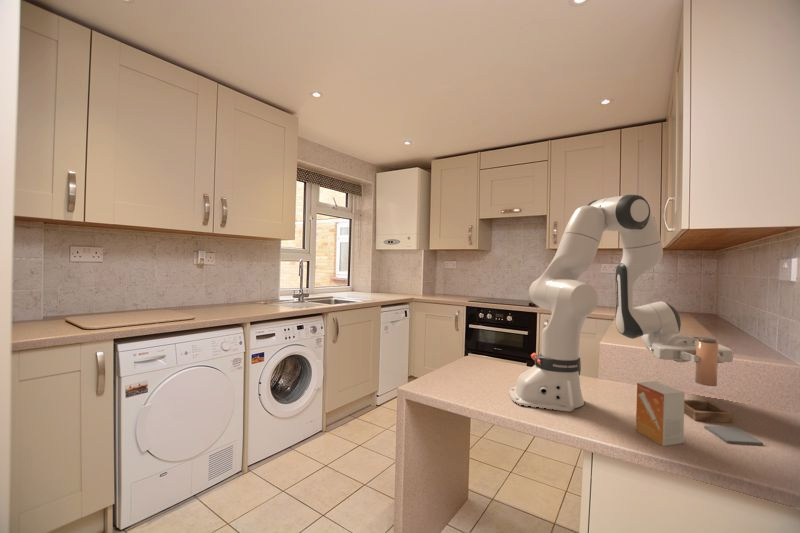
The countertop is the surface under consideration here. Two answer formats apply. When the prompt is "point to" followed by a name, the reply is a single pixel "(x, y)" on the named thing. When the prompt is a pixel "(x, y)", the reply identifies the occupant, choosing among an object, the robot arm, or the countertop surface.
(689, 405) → the brown wooden square tray
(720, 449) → the countertop surface
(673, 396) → the small box
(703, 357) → the jar
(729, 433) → the mat
